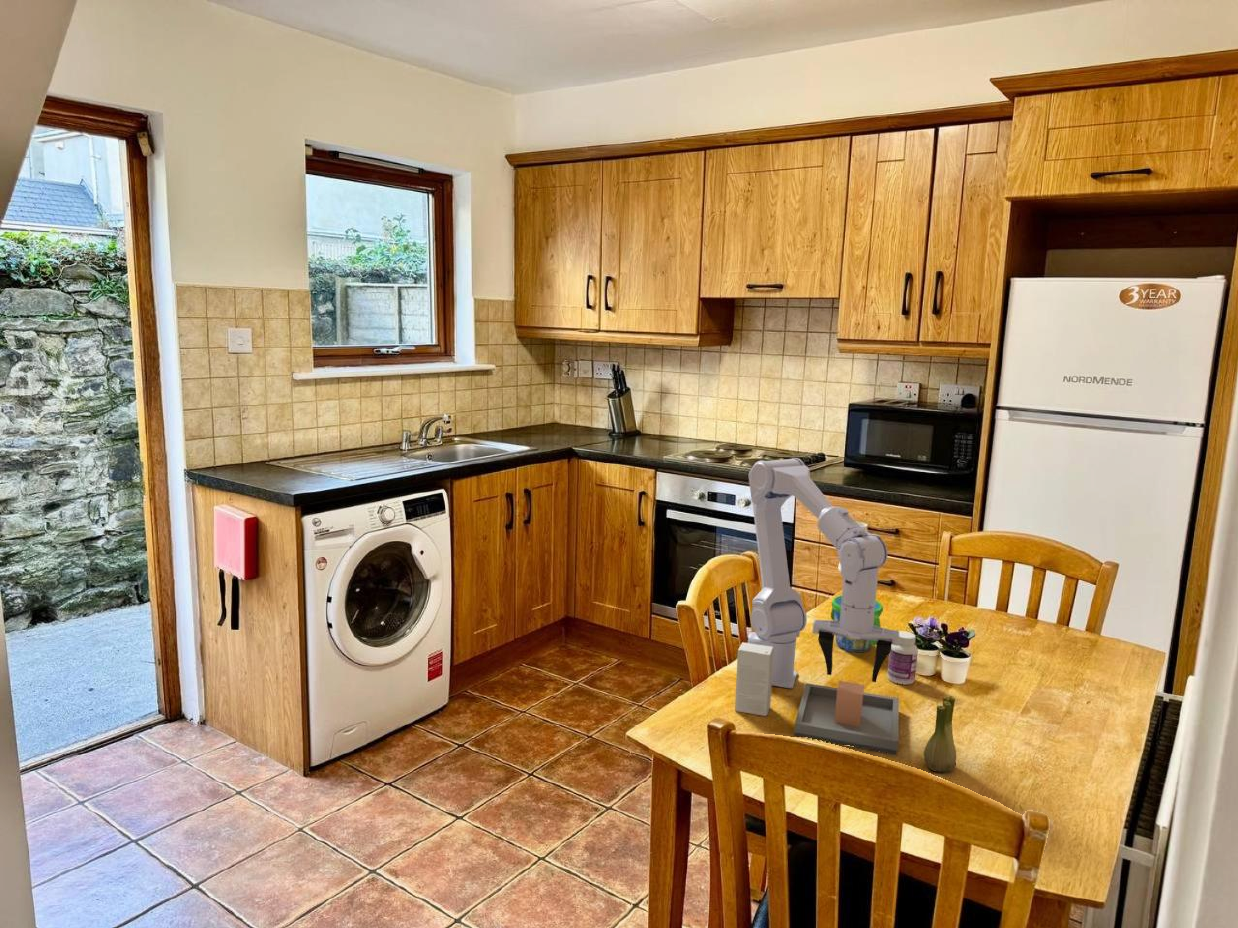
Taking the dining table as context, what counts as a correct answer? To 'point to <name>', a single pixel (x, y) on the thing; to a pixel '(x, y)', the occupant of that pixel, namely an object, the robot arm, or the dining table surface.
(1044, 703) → the dining table surface
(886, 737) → the grey bin
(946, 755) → the fennel bulb
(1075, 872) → the dining table surface
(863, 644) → the snack cup
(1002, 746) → the dining table surface
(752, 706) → the skincare box
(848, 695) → the terracotta block
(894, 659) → the pill bottle
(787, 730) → the dining table surface
